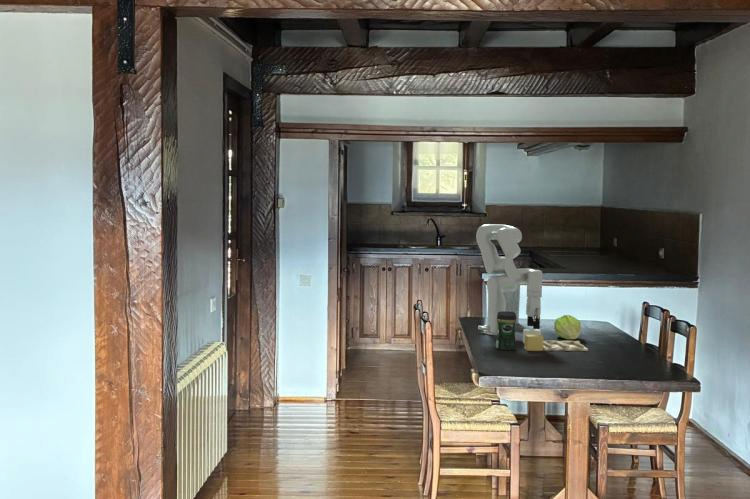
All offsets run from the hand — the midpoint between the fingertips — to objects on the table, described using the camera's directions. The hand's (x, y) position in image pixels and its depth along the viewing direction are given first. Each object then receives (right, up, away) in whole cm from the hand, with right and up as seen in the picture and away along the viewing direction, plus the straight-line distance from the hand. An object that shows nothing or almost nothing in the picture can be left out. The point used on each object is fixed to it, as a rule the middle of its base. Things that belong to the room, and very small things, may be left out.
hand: (533, 327), depth 390 cm
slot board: (+13, -9, -9) cm, 18 cm away
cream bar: (-1, -8, +1) cm, 8 cm away
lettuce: (+22, -8, +15) cm, 28 cm away
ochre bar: (-3, -10, -14) cm, 18 cm away
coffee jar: (-17, -9, -15) cm, 24 cm away
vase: (-1, -4, +61) cm, 61 cm away
